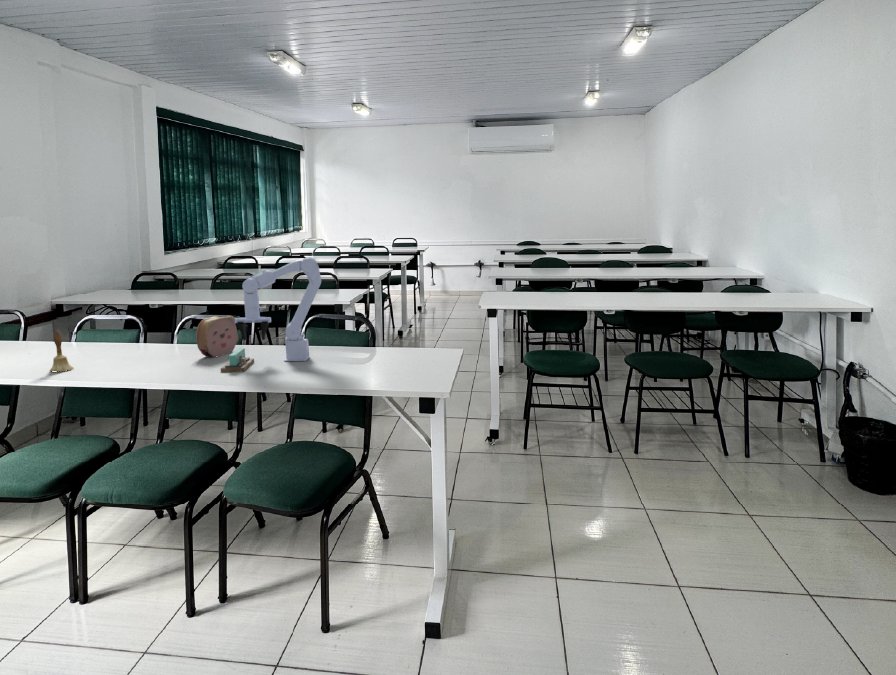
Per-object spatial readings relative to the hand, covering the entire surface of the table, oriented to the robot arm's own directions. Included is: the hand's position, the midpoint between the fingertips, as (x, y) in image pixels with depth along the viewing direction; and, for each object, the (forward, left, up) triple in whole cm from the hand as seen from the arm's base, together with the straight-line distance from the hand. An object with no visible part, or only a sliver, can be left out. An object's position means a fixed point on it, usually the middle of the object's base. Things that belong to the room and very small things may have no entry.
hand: (254, 339), depth 249 cm
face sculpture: (+20, -16, -10) cm, 27 cm away
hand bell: (+75, +7, -10) cm, 76 cm away
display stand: (+5, +9, -9) cm, 14 cm away
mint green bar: (+5, +9, -7) cm, 12 cm away
